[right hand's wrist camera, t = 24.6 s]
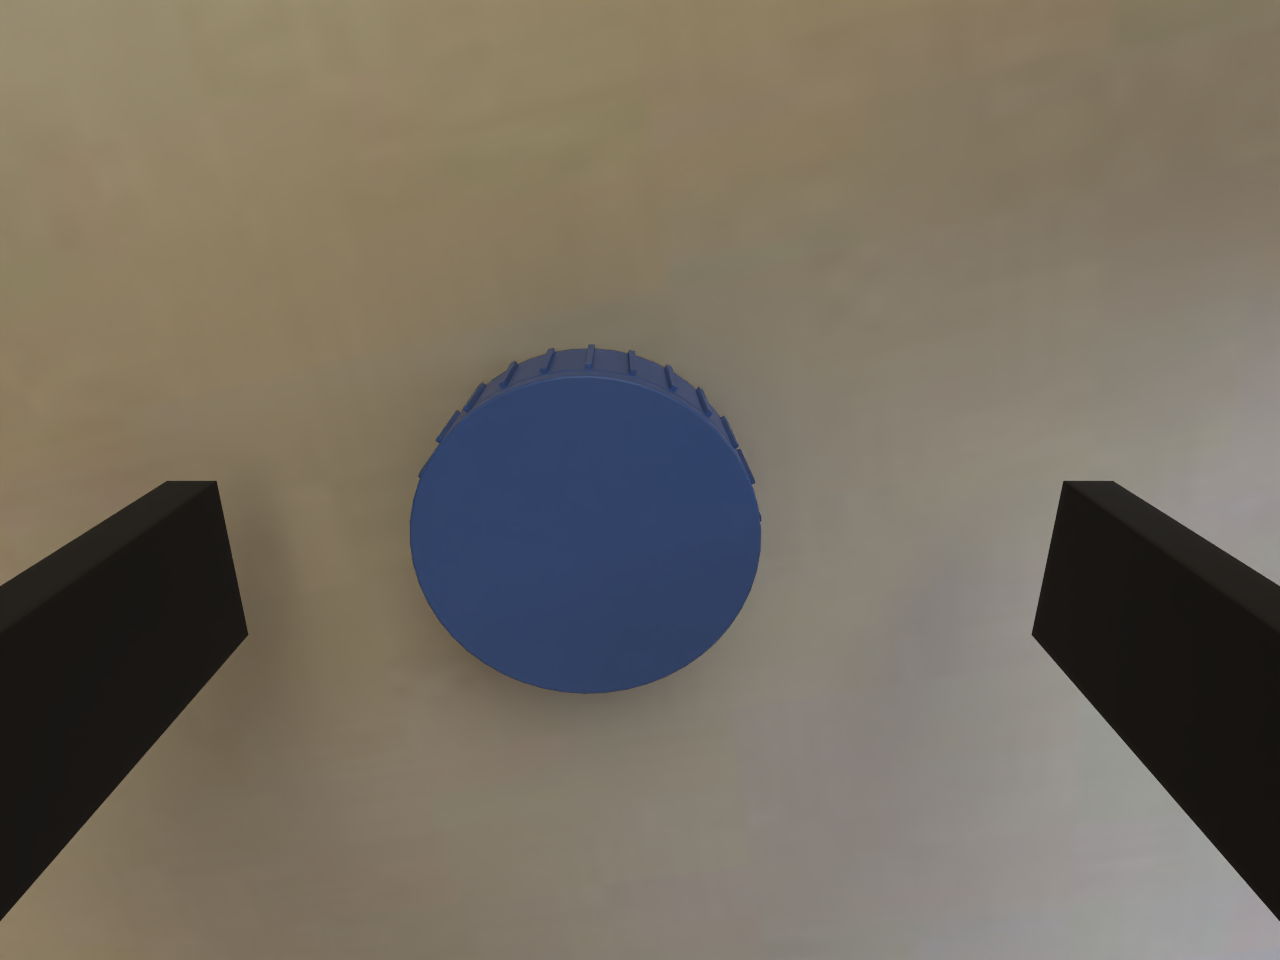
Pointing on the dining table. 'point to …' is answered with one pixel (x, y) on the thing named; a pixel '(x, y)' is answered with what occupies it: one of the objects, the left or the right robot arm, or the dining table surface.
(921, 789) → the dining table surface
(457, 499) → the lid
